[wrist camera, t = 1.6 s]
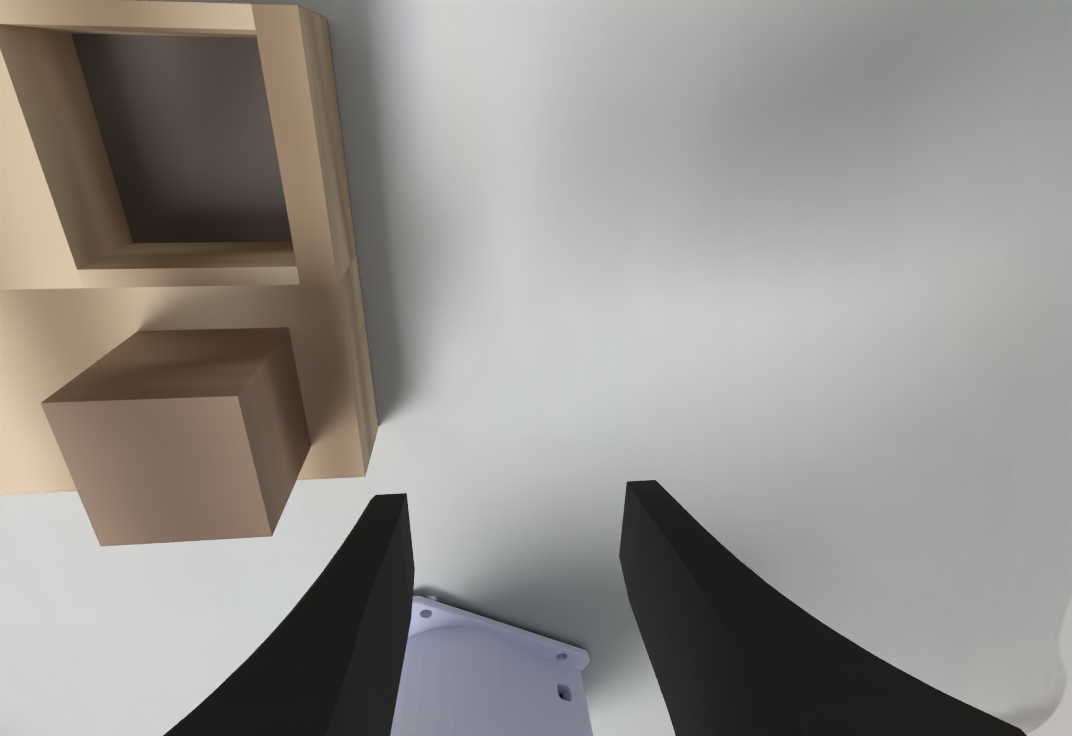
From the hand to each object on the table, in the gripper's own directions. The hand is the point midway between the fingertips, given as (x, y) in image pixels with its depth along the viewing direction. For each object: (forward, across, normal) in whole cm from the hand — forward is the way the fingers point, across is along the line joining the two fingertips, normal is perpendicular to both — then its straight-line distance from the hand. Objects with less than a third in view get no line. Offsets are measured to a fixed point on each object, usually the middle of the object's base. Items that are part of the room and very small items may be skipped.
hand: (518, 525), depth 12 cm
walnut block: (+6, +8, 0) cm, 10 cm away
